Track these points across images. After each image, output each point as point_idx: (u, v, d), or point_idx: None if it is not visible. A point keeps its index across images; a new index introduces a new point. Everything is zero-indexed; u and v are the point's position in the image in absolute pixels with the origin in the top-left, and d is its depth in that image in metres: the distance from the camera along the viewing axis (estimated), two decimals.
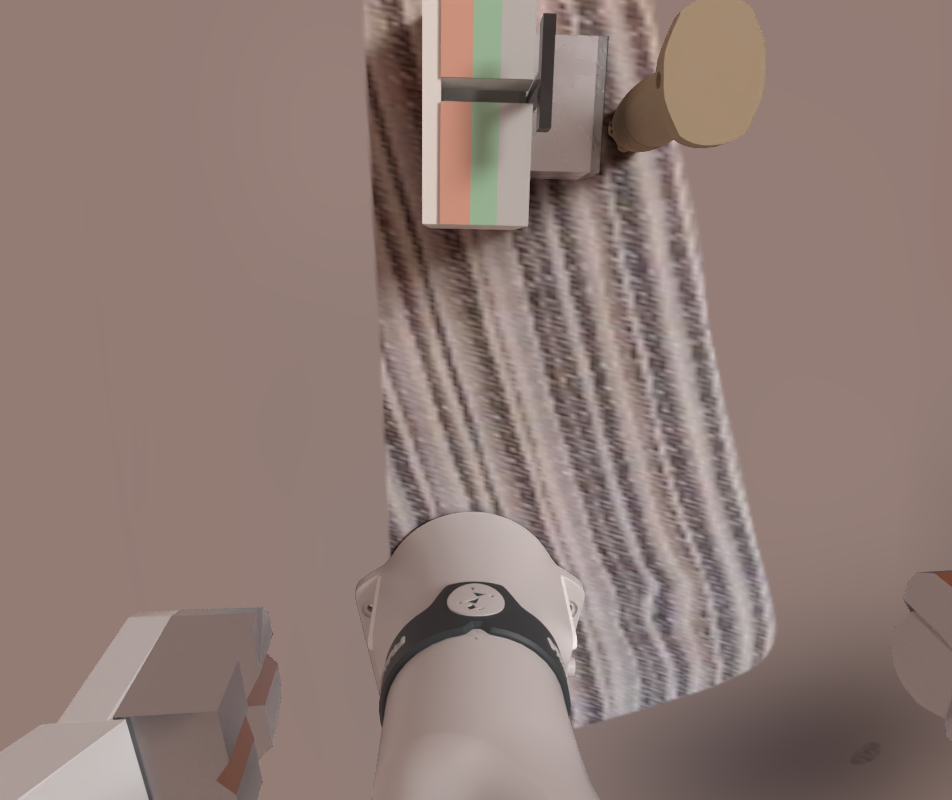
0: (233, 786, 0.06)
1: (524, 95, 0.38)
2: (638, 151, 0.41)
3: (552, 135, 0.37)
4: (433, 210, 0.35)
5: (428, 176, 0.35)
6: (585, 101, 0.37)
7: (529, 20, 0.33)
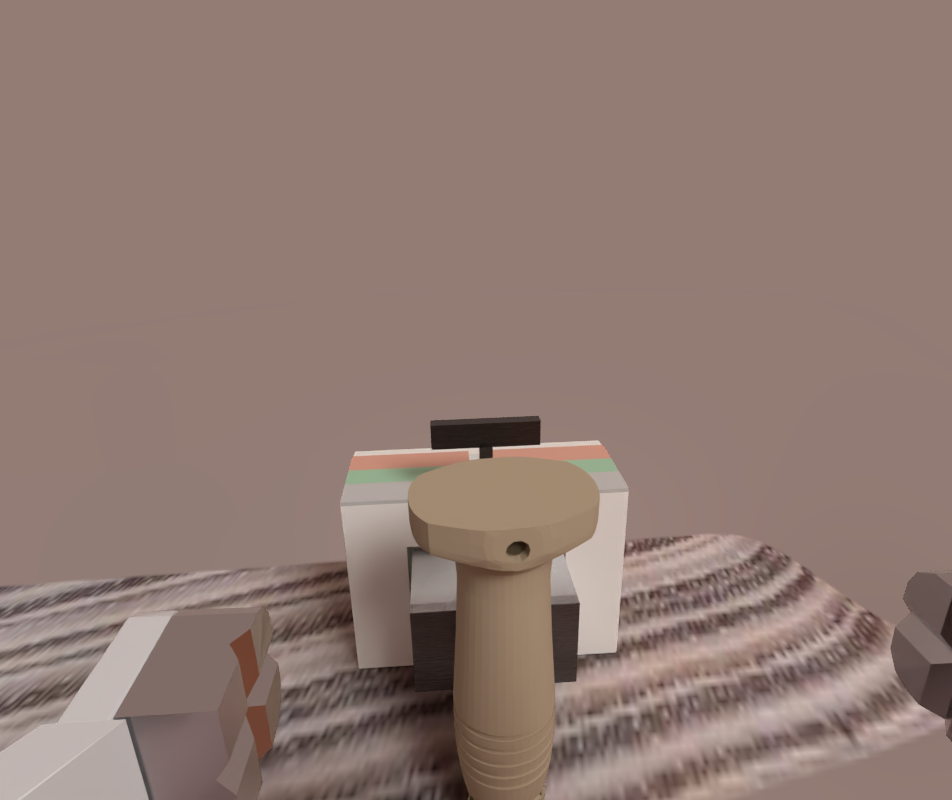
0: (233, 786, 0.06)
1: None
2: None
3: (454, 569, 0.30)
4: (366, 456, 0.35)
5: (399, 452, 0.35)
6: None
7: None
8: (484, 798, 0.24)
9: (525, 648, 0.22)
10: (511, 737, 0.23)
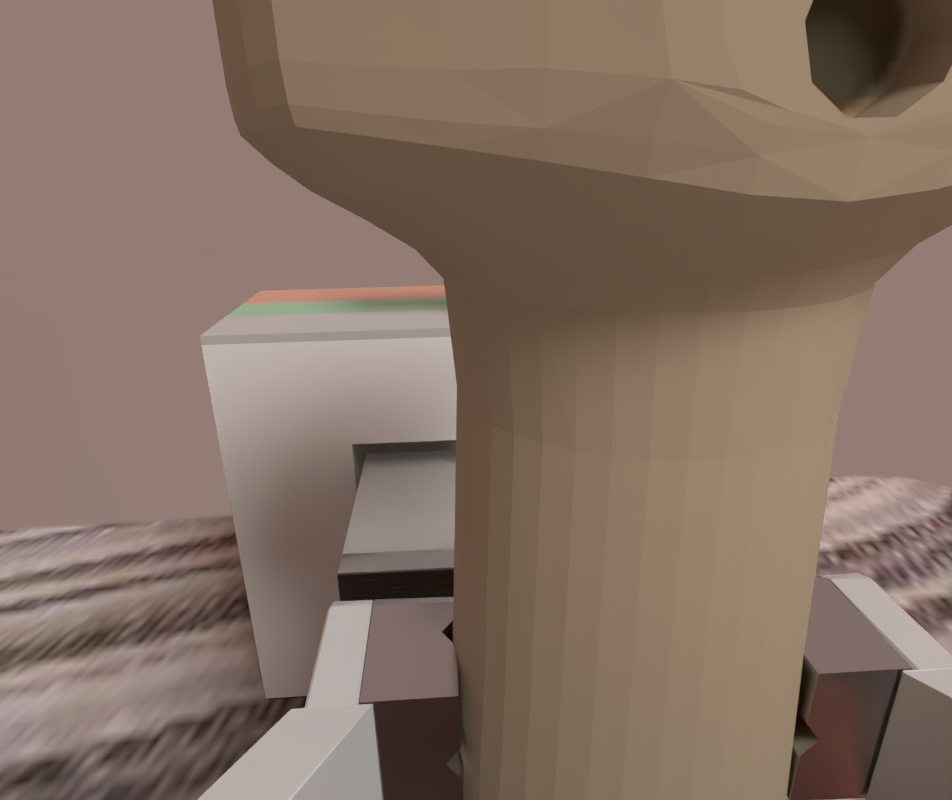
0: (457, 771, 0.06)
1: None
2: None
3: (453, 484, 0.13)
4: None
5: None
6: None
7: None
8: None
9: (748, 683, 0.05)
10: None
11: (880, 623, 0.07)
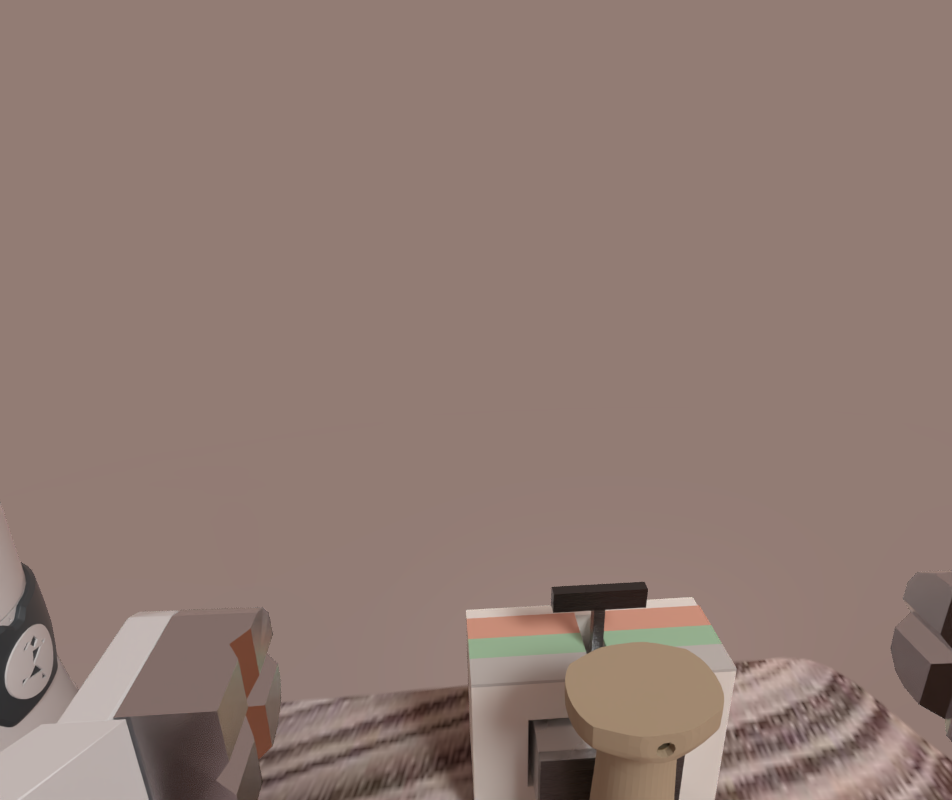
0: (233, 786, 0.06)
1: None
2: None
3: None
4: (478, 616, 0.38)
5: (508, 611, 0.38)
6: None
7: None
8: None
9: None
10: None
11: None
